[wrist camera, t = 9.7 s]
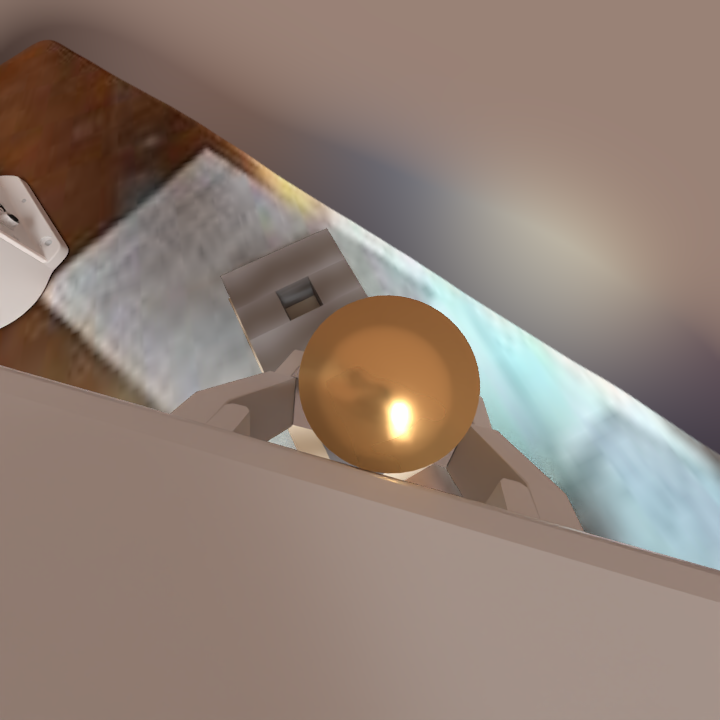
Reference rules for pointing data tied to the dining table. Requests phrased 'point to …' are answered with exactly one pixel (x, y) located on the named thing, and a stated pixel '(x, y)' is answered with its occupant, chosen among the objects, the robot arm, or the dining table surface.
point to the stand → (293, 309)
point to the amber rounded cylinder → (389, 384)
